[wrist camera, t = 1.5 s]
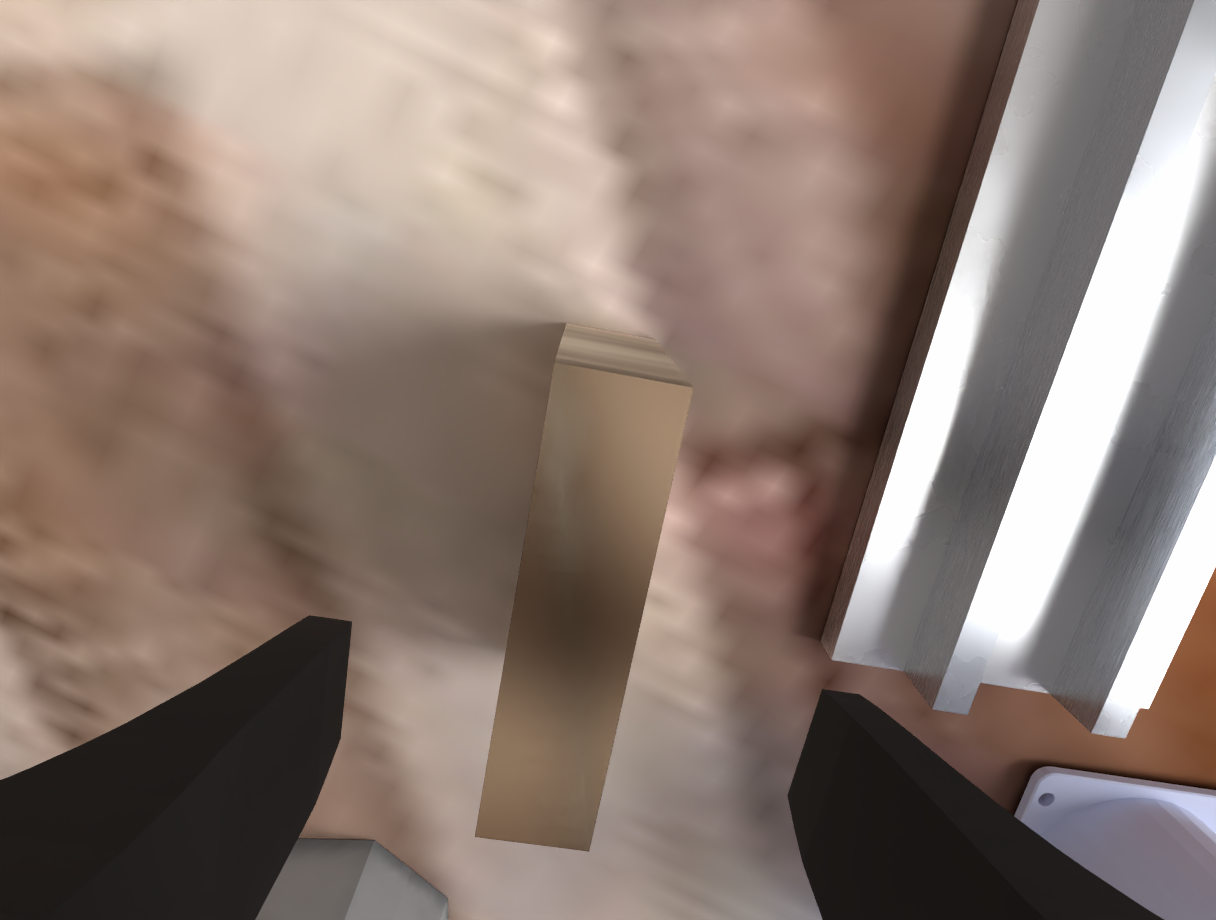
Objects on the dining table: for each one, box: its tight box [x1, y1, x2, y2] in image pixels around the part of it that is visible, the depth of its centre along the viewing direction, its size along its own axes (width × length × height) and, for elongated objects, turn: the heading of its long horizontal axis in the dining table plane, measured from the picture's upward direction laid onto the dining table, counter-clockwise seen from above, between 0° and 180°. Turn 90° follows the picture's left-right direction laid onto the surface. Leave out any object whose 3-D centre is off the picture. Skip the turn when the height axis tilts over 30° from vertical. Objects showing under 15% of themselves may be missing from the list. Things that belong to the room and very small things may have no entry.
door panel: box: [475, 323, 693, 851], centre depth 17 cm, size 10×2×7 cm, turn 169°
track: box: [820, 0, 1216, 738], centre depth 18 cm, size 20×10×3 cm, turn 169°
